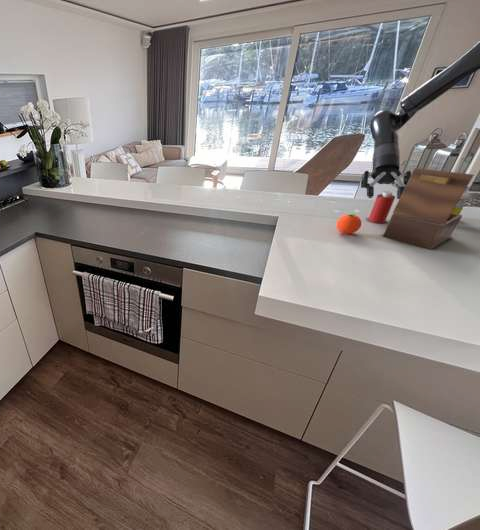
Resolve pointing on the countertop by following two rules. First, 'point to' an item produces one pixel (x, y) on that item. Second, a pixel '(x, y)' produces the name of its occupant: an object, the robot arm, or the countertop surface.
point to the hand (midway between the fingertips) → (385, 197)
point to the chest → (421, 230)
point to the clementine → (348, 223)
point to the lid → (432, 195)
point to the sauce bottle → (381, 207)
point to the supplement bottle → (461, 201)
